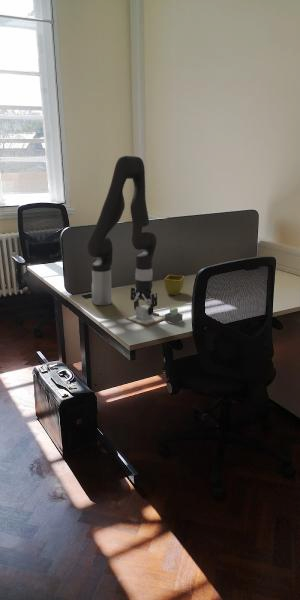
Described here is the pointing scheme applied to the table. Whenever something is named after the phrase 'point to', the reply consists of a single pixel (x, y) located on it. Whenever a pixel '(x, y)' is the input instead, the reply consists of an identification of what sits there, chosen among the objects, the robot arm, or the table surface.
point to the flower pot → (174, 284)
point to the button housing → (173, 318)
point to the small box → (142, 312)
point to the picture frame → (147, 322)
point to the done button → (173, 312)
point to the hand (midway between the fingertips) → (143, 312)
